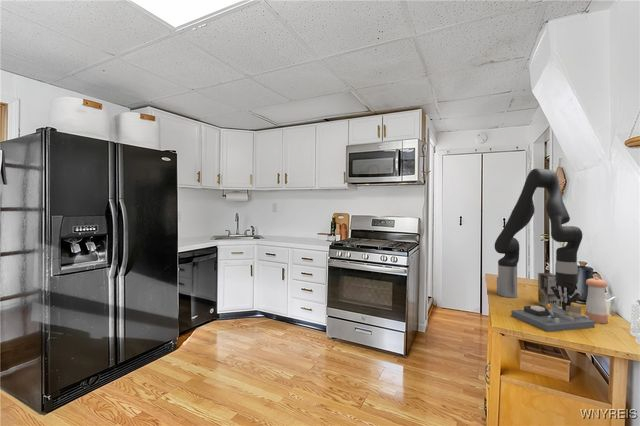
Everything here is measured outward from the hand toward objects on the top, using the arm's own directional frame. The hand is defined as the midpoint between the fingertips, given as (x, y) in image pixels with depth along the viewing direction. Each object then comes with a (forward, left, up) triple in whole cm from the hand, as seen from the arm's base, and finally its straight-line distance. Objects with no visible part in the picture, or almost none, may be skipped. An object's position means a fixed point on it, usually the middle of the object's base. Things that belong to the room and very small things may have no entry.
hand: (566, 310), depth 129 cm
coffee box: (-18, +12, -5) cm, 22 cm away
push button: (-5, -9, -2) cm, 11 cm away
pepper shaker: (+2, +14, -5) cm, 15 cm away
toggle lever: (+5, -12, -1) cm, 13 cm away
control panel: (-1, -7, -5) cm, 8 cm away
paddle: (+3, 0, -2) cm, 4 cm away
